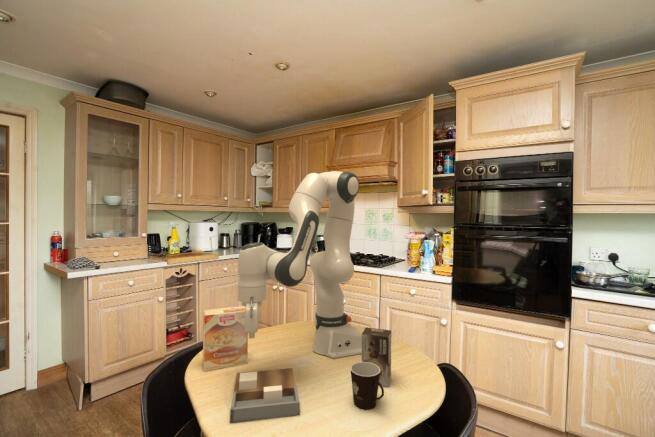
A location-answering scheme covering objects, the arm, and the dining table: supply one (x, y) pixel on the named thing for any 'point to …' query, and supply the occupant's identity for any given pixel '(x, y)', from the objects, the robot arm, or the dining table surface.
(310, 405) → the dining table surface
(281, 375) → the board
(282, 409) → the tray
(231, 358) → the coffeecake box
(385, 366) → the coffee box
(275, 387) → the tile
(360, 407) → the coffee mug
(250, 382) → the tile
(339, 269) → the robot arm
